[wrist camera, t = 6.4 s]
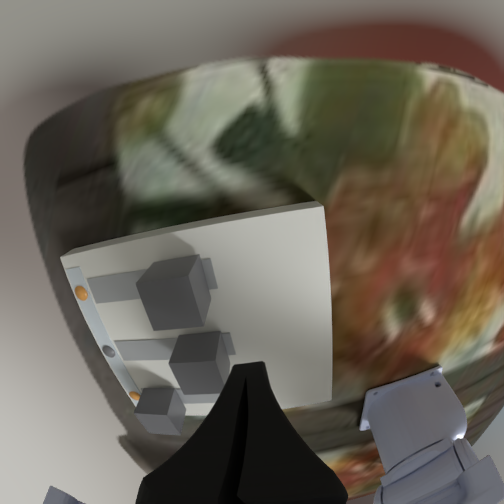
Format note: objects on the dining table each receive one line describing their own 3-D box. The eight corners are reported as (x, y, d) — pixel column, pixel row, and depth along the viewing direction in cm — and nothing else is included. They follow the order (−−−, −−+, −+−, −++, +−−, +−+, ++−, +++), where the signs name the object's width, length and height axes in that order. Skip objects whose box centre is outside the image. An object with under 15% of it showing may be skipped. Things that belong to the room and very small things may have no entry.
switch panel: (316, 200, 17) (324, 206, 15) (327, 385, 23) (332, 402, 21) (73, 248, 18) (58, 258, 16) (145, 400, 24) (139, 414, 22)
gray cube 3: (199, 254, 16) (188, 275, 13) (211, 298, 17) (204, 326, 14) (153, 262, 16) (135, 283, 13) (167, 304, 17) (153, 330, 14)
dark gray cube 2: (220, 330, 18) (215, 360, 15) (230, 362, 19) (227, 393, 16) (178, 334, 18) (168, 363, 15) (191, 365, 19) (183, 394, 16)
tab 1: (174, 388, 20) (166, 415, 17) (186, 409, 21) (180, 435, 18) (143, 387, 20) (133, 412, 17) (156, 408, 21) (149, 432, 18)
